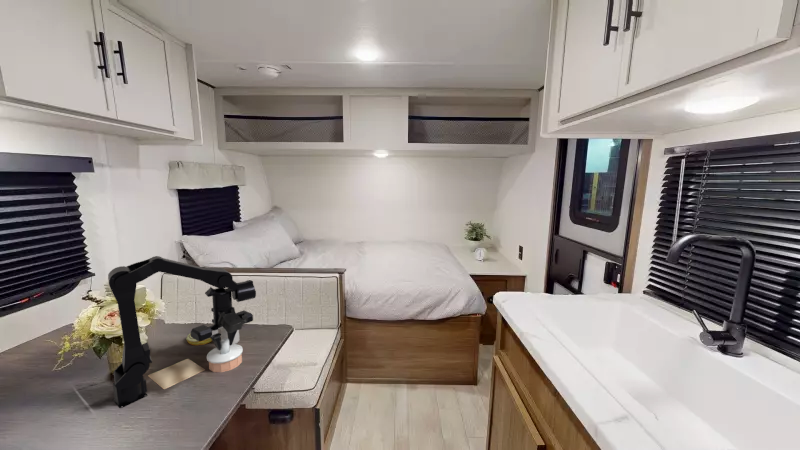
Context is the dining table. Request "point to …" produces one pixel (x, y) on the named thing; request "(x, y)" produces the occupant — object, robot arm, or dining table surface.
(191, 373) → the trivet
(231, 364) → the bowl
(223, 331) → the beverage can
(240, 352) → the lid
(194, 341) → the decorated donut
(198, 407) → the dining table surface
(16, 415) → the dining table surface
